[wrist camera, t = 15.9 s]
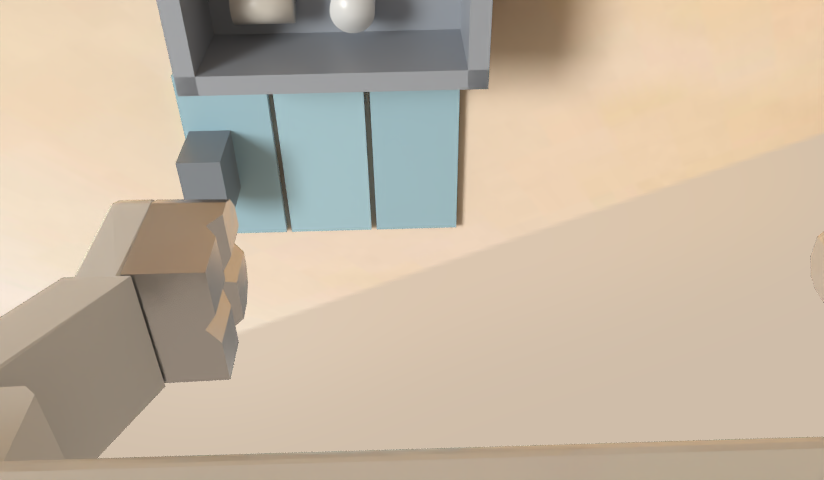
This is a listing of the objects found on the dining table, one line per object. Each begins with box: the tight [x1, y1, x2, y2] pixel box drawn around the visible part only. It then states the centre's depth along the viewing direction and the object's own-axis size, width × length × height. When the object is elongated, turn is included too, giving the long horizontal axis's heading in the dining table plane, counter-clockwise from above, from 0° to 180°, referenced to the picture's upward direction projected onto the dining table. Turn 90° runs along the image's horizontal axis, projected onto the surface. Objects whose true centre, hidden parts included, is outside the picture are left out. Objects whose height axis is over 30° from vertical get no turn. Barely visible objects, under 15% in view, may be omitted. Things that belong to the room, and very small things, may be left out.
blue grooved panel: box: [171, 73, 460, 233], centre depth 44 cm, size 16×11×4 cm
